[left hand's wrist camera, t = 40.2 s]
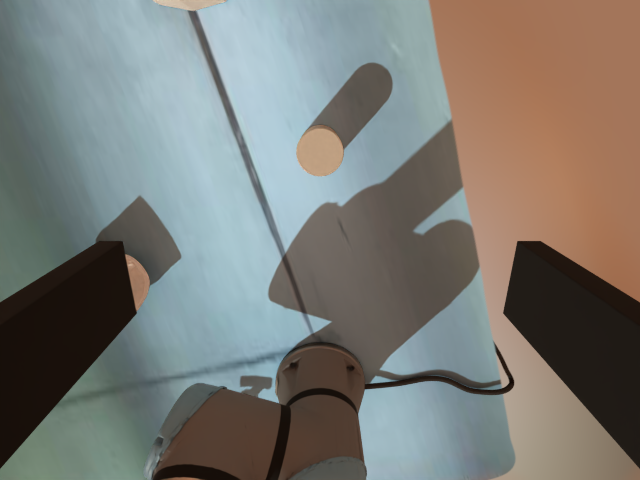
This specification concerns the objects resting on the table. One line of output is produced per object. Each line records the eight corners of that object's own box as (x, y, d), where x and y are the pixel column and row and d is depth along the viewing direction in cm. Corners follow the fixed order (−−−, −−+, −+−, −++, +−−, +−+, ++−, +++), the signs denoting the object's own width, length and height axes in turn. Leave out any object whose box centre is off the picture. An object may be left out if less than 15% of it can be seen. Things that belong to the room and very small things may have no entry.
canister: (314, 116, 49) (313, 118, 42) (348, 140, 50) (353, 146, 43) (291, 151, 51) (287, 159, 44) (325, 174, 52) (326, 185, 45)
